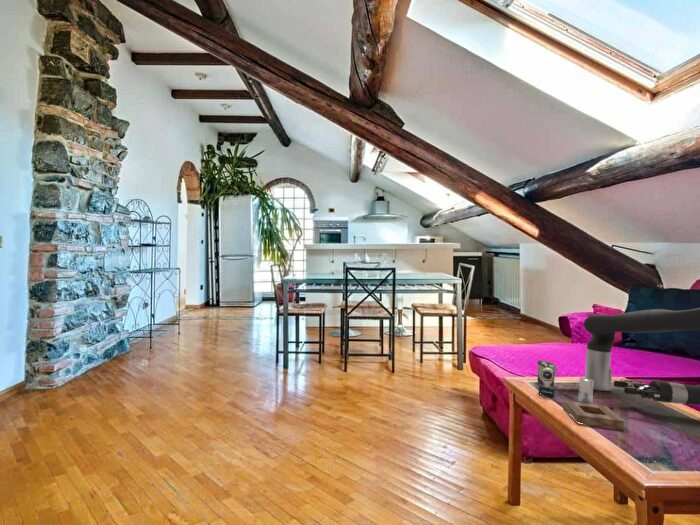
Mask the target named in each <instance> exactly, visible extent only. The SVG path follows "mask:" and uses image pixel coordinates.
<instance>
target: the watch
mask: <svg viewBox="0 0 700 525" xmlns="http://www.w3.org/2000/svg"><path fill="white" fill-rule="evenodd" d="M541 377H542V381H543V382H544V385H541V384H539V387H538V394H539V393H541V394H543V395H542V396H545V395H546V397H549V396H550V398H555V388H556V387H555V386H553V387H551V386H550V384H551V383H552V381H553V379H554V378H555V379H556V375H555V376H554V373H553V371H552V370H551V368H546V367H545V369H543V371H542V372H541ZM555 379H554V380H555Z"/></svg>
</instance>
